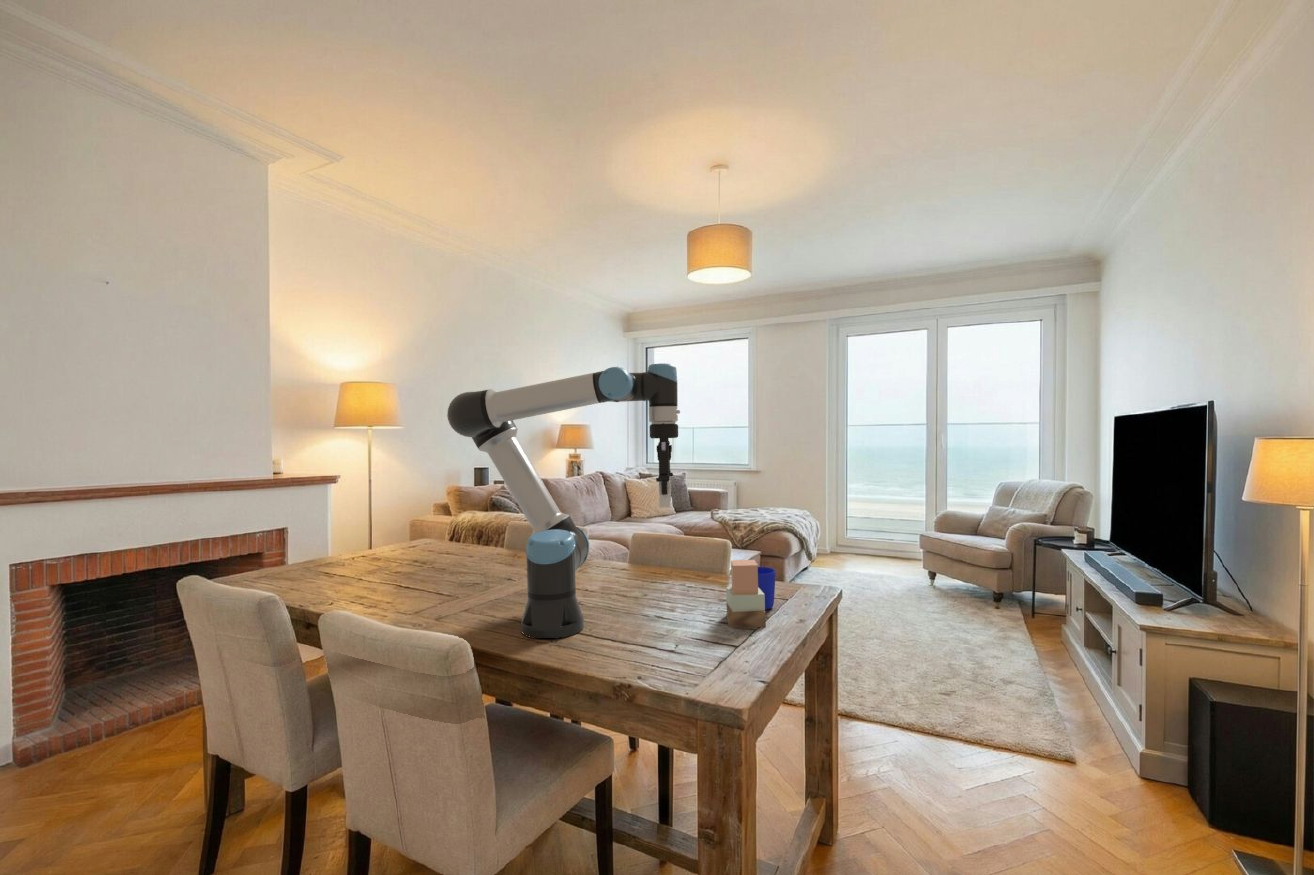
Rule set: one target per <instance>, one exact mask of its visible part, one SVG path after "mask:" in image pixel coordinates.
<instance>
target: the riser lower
mask: <svg viewBox="0 0 1314 875" xmlns="http://www.w3.org/2000/svg"><path fill="white" fill-rule="evenodd" d="M725 602H726V601H725ZM766 618H767V617H766V610H765V611H743V612H732V610H731V609H730V607H729V606H728V604H727V602H726V619H727V626H728V628H739V627H740V628H766V627H767V625H766V624H767V623H766V622H767V621H766V620H767V619H766Z"/></svg>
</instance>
